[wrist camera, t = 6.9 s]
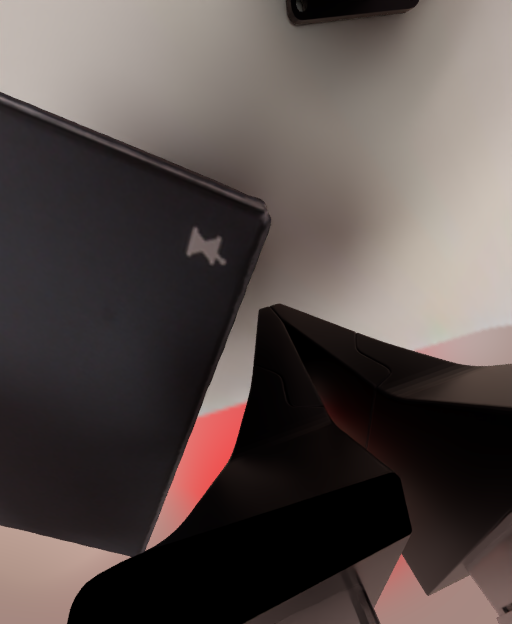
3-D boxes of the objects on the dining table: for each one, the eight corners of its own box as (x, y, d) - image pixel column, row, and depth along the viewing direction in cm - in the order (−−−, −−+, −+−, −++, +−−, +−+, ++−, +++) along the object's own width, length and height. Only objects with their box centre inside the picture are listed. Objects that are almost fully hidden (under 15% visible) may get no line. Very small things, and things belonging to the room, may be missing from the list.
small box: (143, 150, 12) (-295, -58, 2) (268, 202, 13) (302, 199, 3) (112, 330, 16) (-103, 521, 6) (209, 361, 17) (149, 568, 7)
